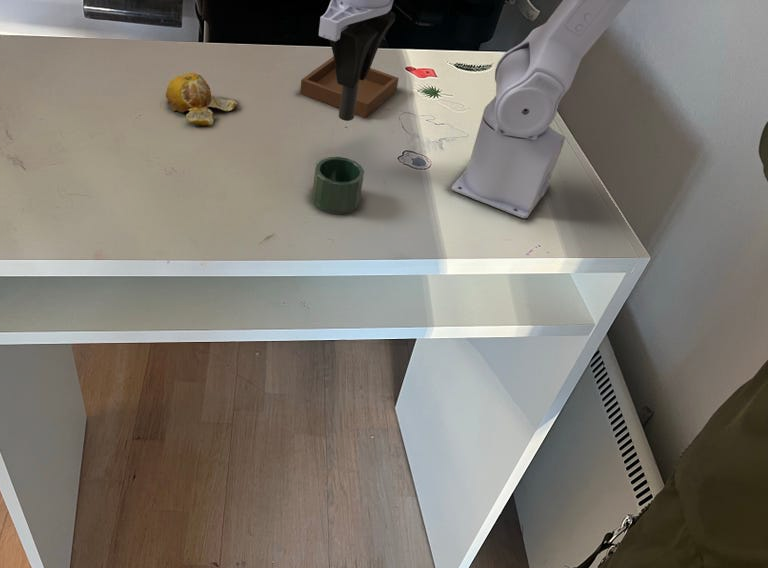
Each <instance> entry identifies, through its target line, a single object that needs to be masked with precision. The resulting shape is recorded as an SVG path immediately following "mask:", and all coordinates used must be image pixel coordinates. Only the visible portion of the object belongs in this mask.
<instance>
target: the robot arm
mask: <svg viewBox="0 0 768 568" xmlns="http://www.w3.org/2000/svg"><path fill="white" fill-rule="evenodd" d="M630 1H631V0H562V1H561V2H560V4H558V6H557V8H556V9H555V10H554V12H553V13H552V14H551V16H550V17H549V18H548V19H547V21H546V22H545V23H543V24H542V25H539V26H538V27H536V28H534V29H532V30H531V32H530V33H529V34H528V36H527V37H526V38H525V39H524V40H523V41H522V42H520V43H519V44H517V45H516V46H514V47H512V48H510V49H509V50H507V51H506V52H505V53H504V54H503V55H502V56H501V58H499V60H498V61H497V64H496V67H495V71H494V81H495V95H494V97H493V99H491V100H490V101H489V102H488V103H487V104H486V105H485V107H484V109H483V113H482V116H481V120H480V123H479V127H478V130H477V134H476V137H475V140H474V144H473V147H472V152H471V155H470V158H469V162H468V165H467V168H466V169H465V170H464V171H463V172H462V173H461V175H460V176H459V177H458V178H457V180H456V181H454V183H453V184H452V186H451V190H452V191H453V192H455V193H458V194H460V195H463V196H465V197H468V198H471V199H473V200H476V201H477V202H480V203H483V204H486V205H488V206H491V207H493V208H496V209H498V210H502V211H503V212H505V213H508V214H511V215H514V216H516V217H518V218H521V219H527V218H528V217H529V216H530V215H531V213H532V211H533V210H534V209H535V207H536V206H537V204H538V203H539V201H540V200H541V199H542V197H544V196H545V194H546V192H547V190H548V187H549V185H550V181H551V178H552V175H553V173H554V170H555V168H556V165H557V163H558V160H559V157H560V156H561V153H562V150H563V147H564V143H565V140H566V137H565V135H563V134H561V133H559V132H558V131H557V130H554V129H553V128H552V127H551V126H550V125H551V124H552V123H553V122H554V120H555V118H556V115H557V112H558V107H559V104H560V102H561V100H562V98H563V97H564V96H565V94H566V93H567V92H568V91H569V90H570V89H571V86H572V85H573V82H574V79H575V77H576V73H577V71H578V68H579V66H580V63H581V61H582V59H583V58H584V57H585V55H586V54H588V52H589V50H590V49H591V48H592V47H593V45H594V44H595V43H596V42H597V41H598V40H599V38H600V37H601V36H602V35H603V34H604V33H605V31H606V30H607V29H608V28H609V26H611V24H612V23H613V21H615V20H616V18H617V17H618V16H619V14H621V12H622V11H623V10H624V9H625V7H626V6H627V5H628V4H629V3H630ZM393 4H394V0H330V1H329V5H328V7H327V9H326V11H325V13H324V14H323V15H321V16H320V17H319V18H320V20H319V27H318V36H319V37H320V38H323V39H327V40H328V41H329V44H330V47H331V51H332V57H333V56H334V62H335V70H336V78H337V83H338V84H340V85H343V86H345V87H348V88H351V89H353V88H355V87H356V85H357V83H358V80H359V77H360V80H362V81H363V80H364V79H365V78H366V76H367V74H368V72H369V70H370V68H372V65H373V62H374V60H375V56H376V54H377V51H378V49H379V47H380V46H381V44H382V41H383V39H384V37H385V36H386V34H387V33H388V31H389V29H390V28H391V27H392V25H393V24H394V23H395V21H396V14H395V12H393V11H392V7H393Z"/></svg>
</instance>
